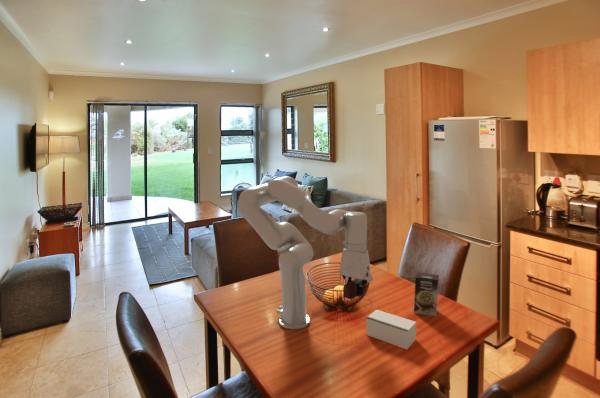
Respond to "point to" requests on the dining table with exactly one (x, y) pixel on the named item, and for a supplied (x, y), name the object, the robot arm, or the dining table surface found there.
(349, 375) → the dining table surface
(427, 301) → the coffee box
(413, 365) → the dining table surface
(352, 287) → the brick
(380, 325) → the step
